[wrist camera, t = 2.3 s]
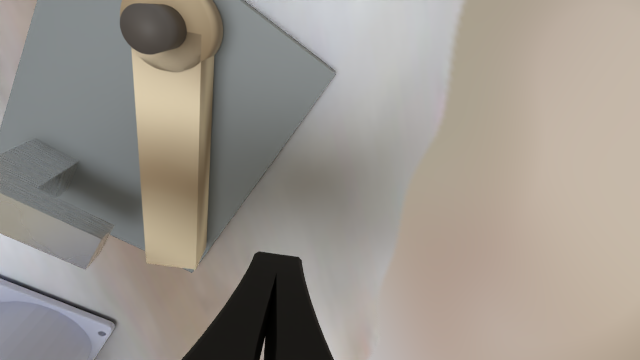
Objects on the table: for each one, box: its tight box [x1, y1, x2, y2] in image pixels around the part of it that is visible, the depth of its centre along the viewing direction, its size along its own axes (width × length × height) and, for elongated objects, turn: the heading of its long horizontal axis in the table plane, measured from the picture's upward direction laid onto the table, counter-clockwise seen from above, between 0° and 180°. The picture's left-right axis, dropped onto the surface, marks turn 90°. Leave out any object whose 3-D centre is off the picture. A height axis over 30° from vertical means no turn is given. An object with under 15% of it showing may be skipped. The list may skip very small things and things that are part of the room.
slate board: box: [0, 0, 336, 273], centre depth 15 cm, size 14×11×1 cm
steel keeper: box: [0, 138, 114, 269], centre depth 14 cm, size 2×5×4 cm, turn 54°
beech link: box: [120, 0, 223, 270], centre depth 13 cm, size 12×3×3 cm, turn 169°
